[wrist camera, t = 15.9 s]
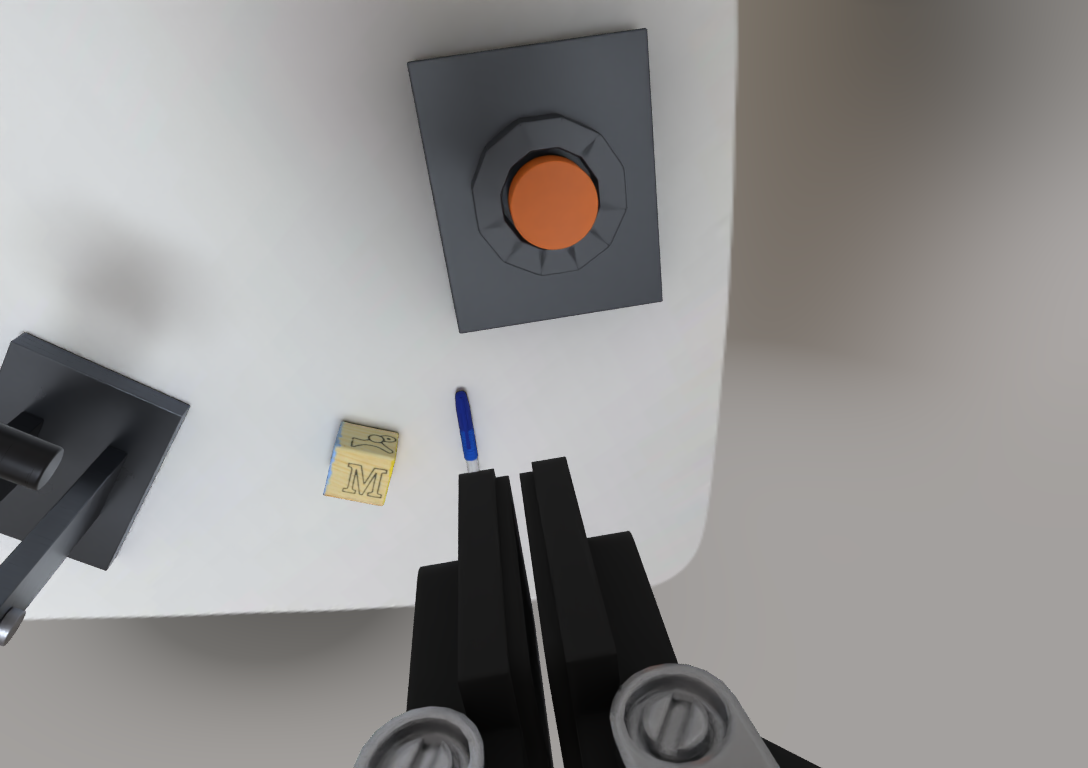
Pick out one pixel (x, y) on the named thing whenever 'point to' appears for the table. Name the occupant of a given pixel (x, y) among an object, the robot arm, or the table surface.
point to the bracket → (75, 464)
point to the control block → (524, 134)
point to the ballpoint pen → (466, 431)
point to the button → (552, 202)
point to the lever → (27, 458)
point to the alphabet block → (361, 464)
